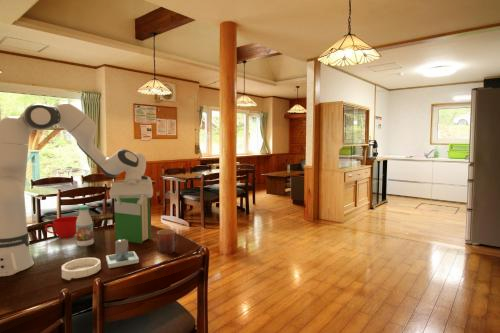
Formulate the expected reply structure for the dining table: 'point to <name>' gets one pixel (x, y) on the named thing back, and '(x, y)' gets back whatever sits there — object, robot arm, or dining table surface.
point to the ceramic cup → (64, 227)
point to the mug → (166, 240)
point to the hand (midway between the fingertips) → (128, 204)
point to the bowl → (80, 268)
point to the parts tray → (112, 261)
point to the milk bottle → (84, 227)
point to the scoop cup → (121, 250)
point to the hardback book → (132, 220)
